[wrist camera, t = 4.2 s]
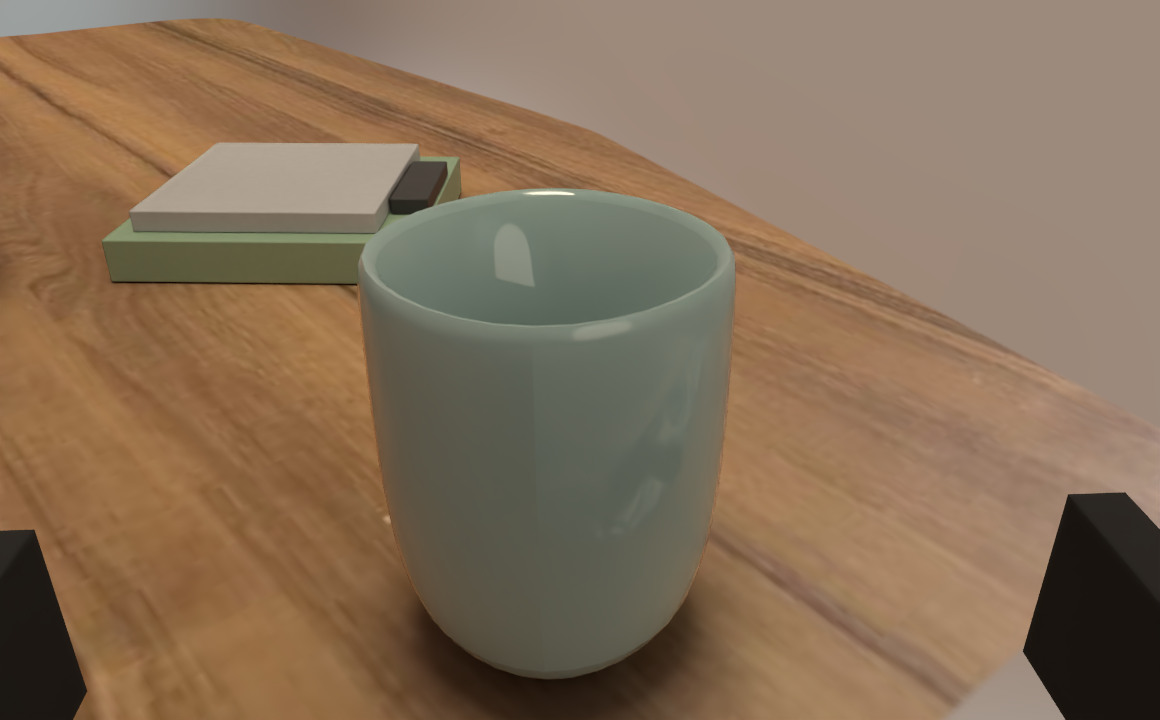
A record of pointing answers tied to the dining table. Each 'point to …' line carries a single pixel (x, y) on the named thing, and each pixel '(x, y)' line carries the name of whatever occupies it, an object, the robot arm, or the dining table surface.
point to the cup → (549, 416)
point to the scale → (276, 212)
